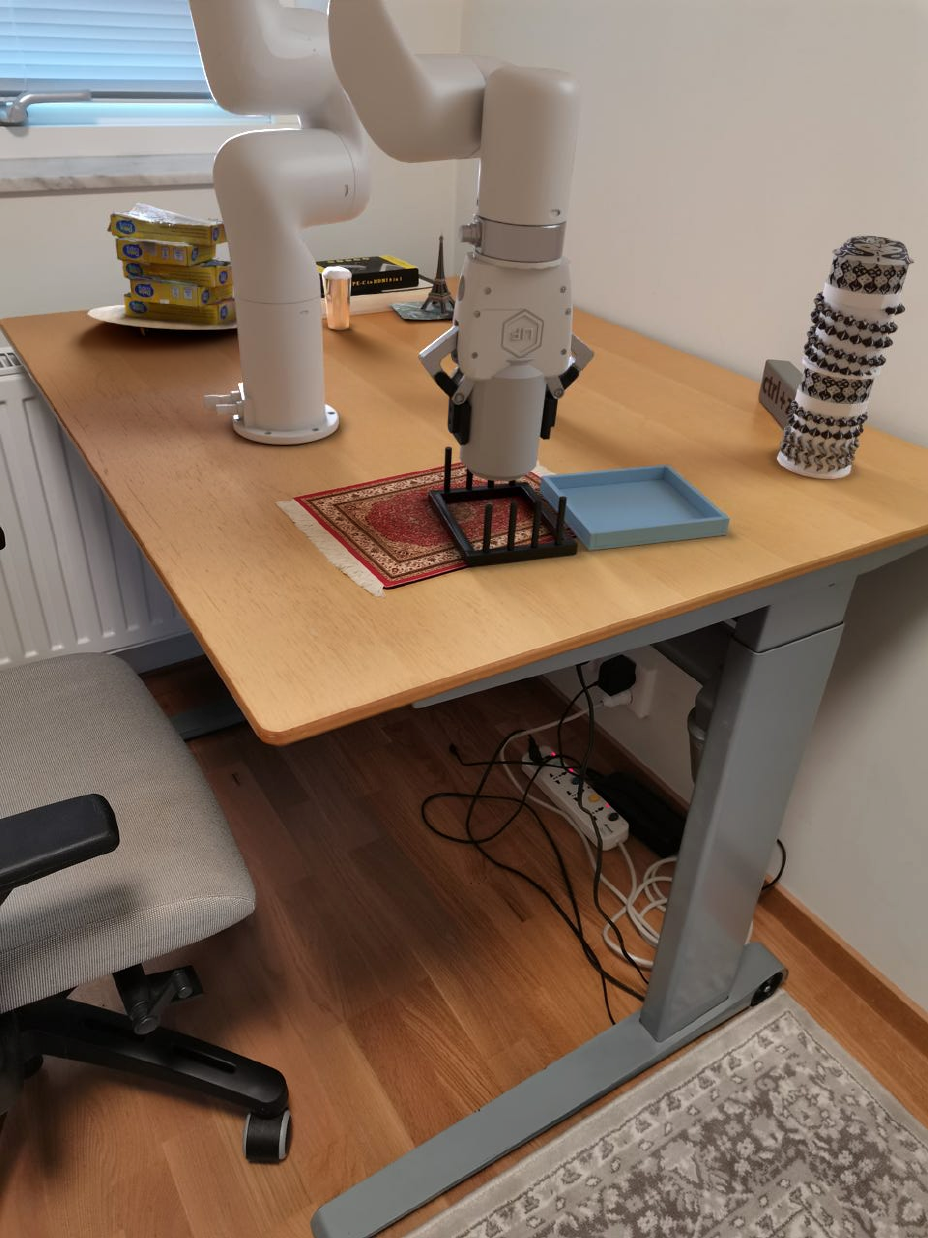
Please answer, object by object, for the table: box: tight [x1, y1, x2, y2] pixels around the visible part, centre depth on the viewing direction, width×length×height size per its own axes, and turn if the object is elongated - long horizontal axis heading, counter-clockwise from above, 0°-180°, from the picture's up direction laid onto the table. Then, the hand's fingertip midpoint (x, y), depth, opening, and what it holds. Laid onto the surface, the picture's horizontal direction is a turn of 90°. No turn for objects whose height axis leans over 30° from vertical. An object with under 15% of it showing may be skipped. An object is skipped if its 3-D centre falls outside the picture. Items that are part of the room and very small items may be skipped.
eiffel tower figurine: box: [389, 228, 456, 320], centre depth 150 cm, size 15×10×13 cm
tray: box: [539, 463, 731, 552], centre depth 94 cm, size 15×13×2 cm
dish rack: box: [427, 446, 579, 568], centre depth 89 cm, size 11×14×6 cm
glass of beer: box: [321, 261, 357, 331], centre depth 141 cm, size 5×5×10 cm
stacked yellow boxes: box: [87, 202, 237, 336], centre depth 135 cm, size 25×25×17 cm
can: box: [459, 358, 547, 482], centre depth 84 cm, size 8×8×12 cm
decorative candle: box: [776, 235, 915, 480], centre depth 100 cm, size 9×9×25 cm
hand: (500, 435), depth 86 cm, fingers closed on can, 7 cm apart
